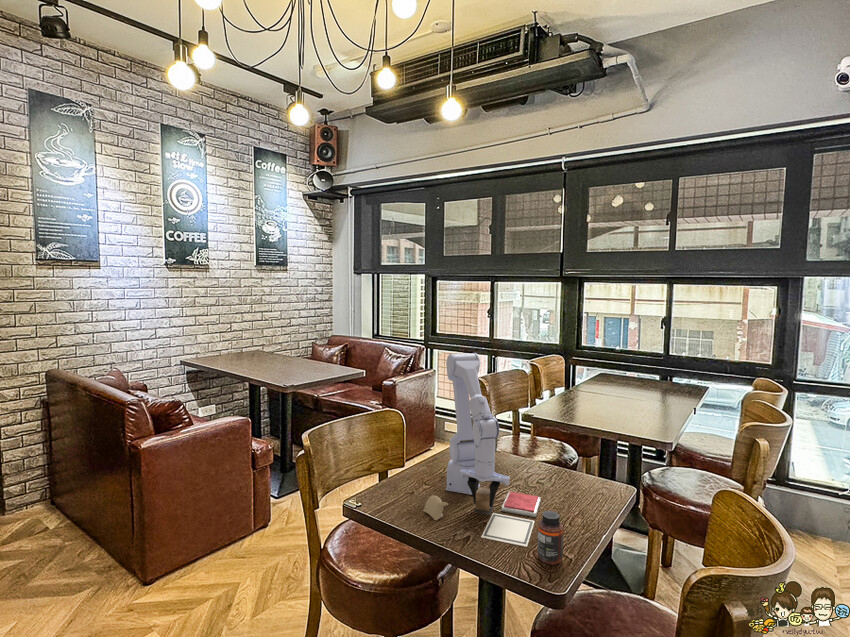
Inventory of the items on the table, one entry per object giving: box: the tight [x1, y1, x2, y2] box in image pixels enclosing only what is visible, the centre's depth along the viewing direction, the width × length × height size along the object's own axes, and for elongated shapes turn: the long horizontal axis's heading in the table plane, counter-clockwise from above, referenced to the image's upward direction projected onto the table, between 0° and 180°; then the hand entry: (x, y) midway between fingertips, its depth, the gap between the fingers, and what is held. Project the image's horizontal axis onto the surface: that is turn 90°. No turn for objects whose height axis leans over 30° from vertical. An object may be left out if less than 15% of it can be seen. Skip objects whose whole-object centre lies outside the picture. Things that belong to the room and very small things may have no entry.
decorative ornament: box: [422, 494, 449, 521], centre depth 139 cm, size 4×8×5 cm, turn 31°
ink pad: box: [501, 491, 542, 518], centre depth 145 cm, size 10×11×2 cm
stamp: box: [473, 486, 494, 516], centre depth 142 cm, size 5×5×6 cm
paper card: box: [480, 512, 536, 548], centre depth 132 cm, size 12×14×1 cm
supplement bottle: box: [537, 510, 564, 566], centre depth 118 cm, size 6×6×11 cm
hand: (483, 503), depth 142 cm, fingers closed on stamp, 4 cm apart
